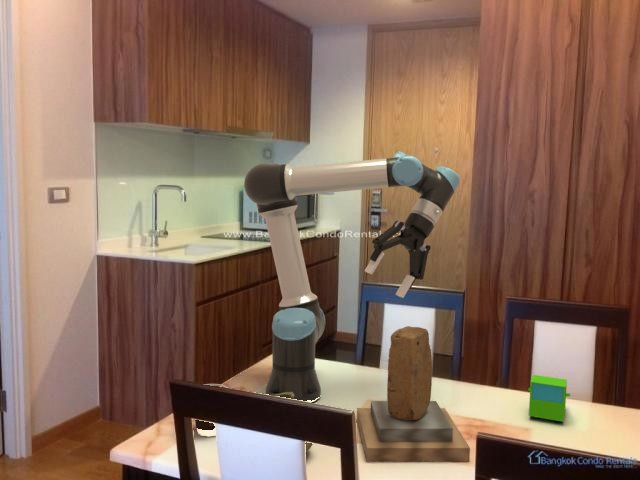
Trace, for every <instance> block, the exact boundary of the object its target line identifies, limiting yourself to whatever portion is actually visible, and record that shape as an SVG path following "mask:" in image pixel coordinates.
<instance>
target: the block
mask: <svg viewBox="0 0 640 480" xmlns="http://www.w3.org/2000/svg"><path fill="white" fill-rule="evenodd" d="M429 335H430V333H429V331H428V329H427V328H423V327H419V326H409V325H407V326H405V327H403V328H402V327H401V328H398V329H397V330H395V331H394V332H393V333H392V334H391V335H390V347H389V349H388V350H389V351H388V360H387V361H388V362H387V363H388V364H387V381H386V382H387V383H386V385H387V387H386V390H387V391H386V396H387V398H386V399H387V400H386V401H387V404H388V412H389V414H390V415H391V416H394V417H395V418H398V419H401V420H405V421H406V420H418V419H420V418H422V417H423V416H424V414H425V412H426V410H427V408H428V406H429V403H430V401H431V398H432V397H431V396H432V387H433V386H432V384H433V383H432V381H433V357H432V349H431V345H430V336H429Z"/></svg>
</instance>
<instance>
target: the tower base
mask: <svg viewBox="0 0 640 480" xmlns="http://www.w3.org/2000/svg"><path fill="white" fill-rule="evenodd" d="M356 422H357V426H358V430H359V433H360V434H359V435H360V438H361V443H362V447H363V451H364V455H365V460H366V462H368V463H372V462H373V463H376V462H378V463H379V462H383V463H384V462H394V463H395V462H397V463H398V462H400V463H401V462H408V463H409V462H415V463H416V462H418V463H419V462H428V463H429V462H430V463H431V462H470V459H471V458H470V454H471V447H470V445H469V443H468V442H467V441H466V439H465V438H464V435H462V433H461V431H460V430H459V429H458V427H457V425H456V423H455V422H454V420H453V419H452V418H451V416H450V414H449V412H448V411H447V410H446V408H445V407H441V406H440V404H439V403H438V402H437V400H430V403H429V406H428V408H427V410H426V412H425V414H424V416H423V417H422V418H420V419H418V420H406V421H405V420H401V419H398V418H395V417H394V416H391V415H390V414H389V412H388V404H387V400H370V407H357V409H356Z"/></svg>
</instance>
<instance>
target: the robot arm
mask: <svg viewBox="0 0 640 480" xmlns="http://www.w3.org/2000/svg"><path fill="white" fill-rule="evenodd" d="M460 180H461V178H460V176H459V174H458V173H457V172H456V171H455V170H453V169H451V168H449V167H446V166H437V168H436V169H435V170H434V169H432V168H430V167H428V166H426V165H425V164H423V163H422V162H421V160H419V159H418V158H417V157H416V156H413V155H411V154H409V155H408V154H407V153H404V152H402V151H397V152H396V153H395V154H394V155H393V157H389V158H388V157H387V158H377V159H367V160H355V161H354V160H353V161H345V162H336V163H334V162H333V163H324V164H323V163H322V164H313V165H305V166H304V165H302V166H294V167H293V166H292V165H290V164H289V163H285V164H278V163H266V162H265V163H259V164H257V165H255V166H253V167H252V168H250V169H249V170H248V171H247V173H246V175H245V177H244V183H243V187H244V191H245V194H246V196H247V197H248V198H249V199H250V200H251V201H252V202H253V203H254V204H256V207H257V211H258V215H259V216H261V217H262V218H264V219H265V223H266V229H267V234H268V238H269V242H270V246H271V251H272V256H273V261H274V266H275V269H276V274H277V278H278V284H279V287H280V293H281V297H282V299H281V301H280V302H279V304H278V307H279V311H277V312H276V313H275V314H274V315H273V317H272V318H273V319H272V323H271V330H272V350H271V351H272V353H271V354H272V355H271V356H272V357H271V359H272V369H271V372H270V375H269V377H268V381H267V384H266V387H265V395H266V394H269V395H276V394H280V393H285V392H293V394H294V399H297V400H303V401H307V400H311V401H312V400H315V399H316V398H318V397H320V395H322V388H321V385H320V382H319V378H318V375H317V372H316V366H315V364H316V344H317V342H318V341H319V339H320V338H321V337H322V335H323V333H324V331H325V329H326V327H325V326H326V316H325V314H324V311H323V310H322V308H321V307H320V302H319V298H318V296H317V295H316V294H315V293H313V292H312V290H311V286H310V282H309V281H310V280H309V276H308V273H307V267H306V263H305V257H304V254H303V247H302V243H301V240H300V235H299V234H300V233H299V231H298V225H297V221H296V216H295V215H296V214H295V212H296V210H297V208H298V200H297V196H298V197H299V196H305V195H306V196H308V195H317V194H329V193H341V192H350V191H360V190H361V191H363V190H372V189H373V190H374V189H382V188H396V187H398V188H399V187H407V188H409V189H412V191H415V192H416V193H417V194H418V193H419V194H420V196H419V197H418V199H417V201H416V203H415V204H414V206H413V207H412V209H411V212H410V213H409V215H408V217H407V218H406V220H405V221H399V220H395V222H394V223H393V224H392V225H391V227H388V228H387V229H386V230H385V231H383V232H381V234H379V235H378V236H377V237H375V238H374V239H372V241H371V243H372V244H373V249H374V250H373V252H372V254H371V255H370V257H369V259H370V260H369V262H368V264H367V266H366V268H365V269H364V272H365V273H367V274H370V275H373V274H374V272H375V270H376V269H377V267H378V266H379V264H380V262H381V260H382V259H383V257H384V256H385V252H383V251H386V250H388V249H389V250H390V249H391V248H393V247H396V246H399V245H401V246H403V247H404V248H405V249H406V250H407V252H408V254H409V274H406V275H405V277H404V278H403V281H402V283H401V284H400V286H399V288H397V291H396V292H395V296H397V297H400V298H401V299H404V298H405V296H406V294H407V292H408V291H409V289H412V286H413V285H414V283H415V282H416V280H420V281H421V280H422V281H423V279H424V277H425V271H426V266H427V260H428V256H429V253H430V251H431V247H432V246H431V245H428V244H426V243H425V240H426V239H427V238H428V237H430V235H431V233H432V232H433V230H434V228H435V226H434V225H436V224H437V222H438V221H439V219H440V218H441V215H442V214H443V212H444V210H445V209H446V207H447V205H448V204H449V202H450V201H451V198H452V197H453V195H454V194H455V192H456V190H457V188H458V186H459V184H460ZM399 232H400V234H398V233H399ZM393 236H394V237H393ZM392 237H393V238H392ZM280 397H286V398H291V397H290V396H289V395H283V396H280ZM320 398H321V397H320Z"/></svg>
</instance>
